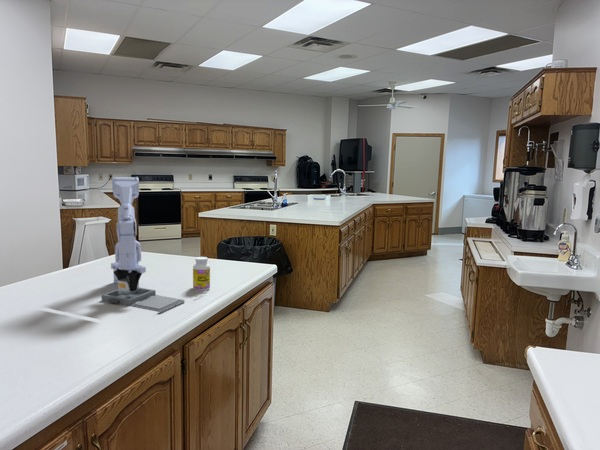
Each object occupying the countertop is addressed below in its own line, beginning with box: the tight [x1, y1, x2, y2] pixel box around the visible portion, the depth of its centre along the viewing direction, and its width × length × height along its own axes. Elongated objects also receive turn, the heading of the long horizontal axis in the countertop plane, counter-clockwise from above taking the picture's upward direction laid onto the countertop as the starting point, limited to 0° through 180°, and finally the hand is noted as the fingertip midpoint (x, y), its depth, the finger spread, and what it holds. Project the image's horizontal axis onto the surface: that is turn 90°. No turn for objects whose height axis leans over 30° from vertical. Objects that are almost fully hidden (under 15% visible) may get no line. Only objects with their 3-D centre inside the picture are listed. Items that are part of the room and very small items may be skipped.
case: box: [101, 287, 185, 315], centre depth 157 cm, size 26×14×3 cm, turn 67°
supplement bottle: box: [192, 256, 211, 291], centre depth 175 cm, size 7×7×13 cm
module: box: [117, 277, 140, 295], centre depth 160 cm, size 4×6×5 cm, turn 157°
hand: (128, 289), depth 160 cm, fingers closed on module, 4 cm apart
